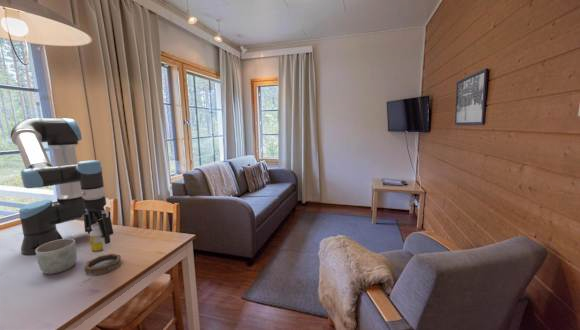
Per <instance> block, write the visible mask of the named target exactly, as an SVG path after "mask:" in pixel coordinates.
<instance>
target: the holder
mask: <svg viewBox="0 0 580 330" xmlns="http://www.w3.org/2000/svg"><path fill="white" fill-rule="evenodd" d="M121 263H122V256H121V255H120V254H116V253H109V254H103V255H99V256H96V257H95V258H93V259H91V260H88V261H87V262H86V264H85V266H84V273H85V274H86V275H87V276H100V275H104V274H107V273H109V272H112V271H115V269H117V268H119V267H120V265H121Z"/></svg>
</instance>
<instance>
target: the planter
mask: <svg viewBox="0 0 580 330" xmlns="http://www.w3.org/2000/svg"><path fill="white" fill-rule="evenodd" d="M35 252H36V254H35V255H36V259H37V263H38V266H39V269H40V271H41V272H42V273H43V274H46V275H54V274H58V273H62V272H64V271H67V270H69V269H70V268H72V267H73V266H74V265H75V264H76V262H77V246H76V239H74V238H63V239H59V240H55V241H51V242H48V243H45V244H43V245H41V246H39V247H38V248H37V249H36V250H35Z"/></svg>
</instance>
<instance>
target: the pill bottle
mask: <svg viewBox="0 0 580 330" xmlns="http://www.w3.org/2000/svg"><path fill="white" fill-rule="evenodd" d="M91 229H92V231H91V232H90V234H88V235H89V242H90V247H91V252H92V253H94V254H99V253H104V251H103V245H102V238H101V237H102V236H103V235H102V233H101V230H100V227H99V225H98V222H97V223H95V224H93V225H91Z"/></svg>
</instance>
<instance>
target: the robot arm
mask: <svg viewBox="0 0 580 330" xmlns="http://www.w3.org/2000/svg"><path fill="white" fill-rule="evenodd" d="M10 131H11V132H10V139H11V142H12V143H13V144H14V145H15V146H17V149H18V152H19V154H20V157H21V159H22V162H23V164H24V165H23V166H24V168H25V169H22V170H21V171H20V176H21V182H22V184H23V187H24V188H26V189H35V188H43V187H44V188H45V187H50V186H56V185H58V188H59V189H58V190H59V194H58V196H57V197H56V201H53V200H51V199H45V200H43V199H42V200H39V201H34V202H31V203H28V204H25V205H23V206H22V207H20V208H19V211H18V212H19V213H18V214H19V218H18V219H19V220H20V222H21V228H22V229H21V230H22V233H23V239H22V243H21V246H20V251H21V255H28V256H29V255H30V256H32V255H36V252H35V250H36V249H37V248H38V247H39V246H41V245H43V244H45V243H48V242H51V241H55V240H59V239H64V238H63V236H62V235H61V234H60V232H59V231H58V229H57V225H59V224H63V223H67V222H71V221H72V222H73V221H76V220H81V219H83V223H84V232H85V233H87V234H88V235H89V234H90V232H91V231H92V229H91V225H93V224H95V223H98V225H99V227H100V230H101V233H102V235H103V236H102V237H101V238H102V245H103V251H104V252H107V251H109V250H112V244H111V235H113V234H114V230H113V225H112V220H111V212H110V211H106V209H105V208H104V207H105V206H106V205H107V199H106V192H105V191H106V190H105V184H104V179H103V167H102V164H101V161H100V160H97V159H95V160H94V159H89V160H81V161H78V158H77V151H76V148H77V146H79V141H82V132H81V131H82V130H81V128H80V126H79V125H78V123H77V122H76V120H75V119H73V118H67V117H66V118H64V117H61V118H60V117H58V118H57V117H53V118H51V117H49V118H48V117H31V118H27V119H24V120H22V121H20V122H18V123H16V124H15V125H14V126H13V128H12V129H11V130H10ZM43 143H47V146H48V147H49V148H51V149H52V152H53V159H54V164H55V166H53V165H52V163H51V160H50V158H49V156H48V153H47V152H46V150H45V147H44V145H43ZM104 252H103V253H104Z"/></svg>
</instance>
